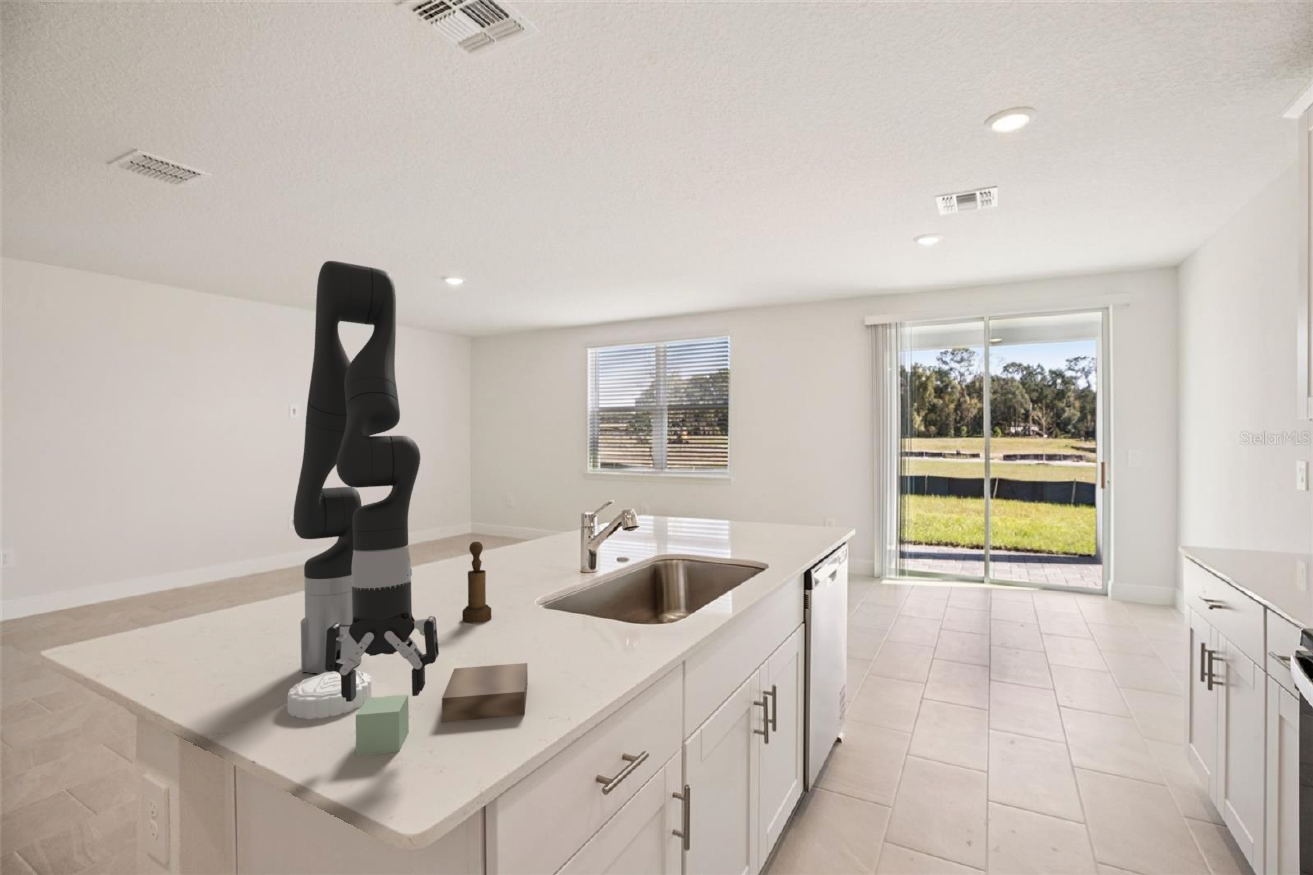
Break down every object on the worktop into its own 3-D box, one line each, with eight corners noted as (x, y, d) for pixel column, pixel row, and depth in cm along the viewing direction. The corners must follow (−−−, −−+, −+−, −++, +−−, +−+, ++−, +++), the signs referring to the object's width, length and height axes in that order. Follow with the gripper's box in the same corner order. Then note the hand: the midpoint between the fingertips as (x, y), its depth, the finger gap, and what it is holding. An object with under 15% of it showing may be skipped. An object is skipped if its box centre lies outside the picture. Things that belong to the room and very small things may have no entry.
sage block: (356, 756, 83) (355, 715, 83) (368, 736, 88) (367, 697, 88) (399, 751, 84) (399, 711, 84) (408, 732, 89) (408, 694, 89)
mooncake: (365, 714, 96) (365, 691, 96) (277, 725, 92) (277, 701, 92) (377, 684, 107) (376, 664, 107) (299, 693, 104) (298, 672, 104)
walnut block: (442, 725, 92) (441, 698, 92) (454, 692, 104) (454, 668, 104) (524, 717, 94) (524, 691, 94) (527, 686, 106) (527, 663, 106)
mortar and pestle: (497, 617, 145) (496, 541, 145) (476, 625, 140) (474, 545, 139) (478, 613, 149) (477, 538, 148) (456, 620, 143) (455, 542, 143)
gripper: (316, 589, 81) (319, 713, 81) (430, 582, 83) (433, 703, 83) (336, 577, 88) (338, 691, 88) (440, 571, 91) (442, 682, 91)
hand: (384, 696), depth 86 cm, fingers open, 8 cm apart
